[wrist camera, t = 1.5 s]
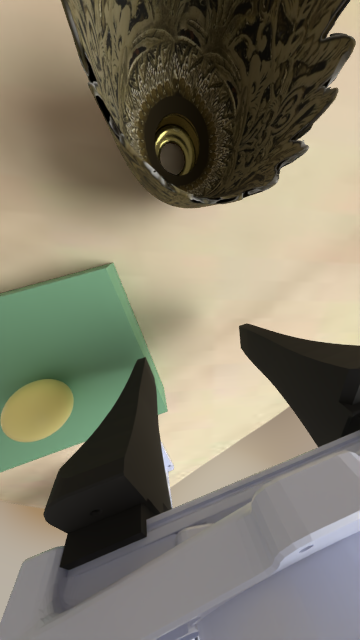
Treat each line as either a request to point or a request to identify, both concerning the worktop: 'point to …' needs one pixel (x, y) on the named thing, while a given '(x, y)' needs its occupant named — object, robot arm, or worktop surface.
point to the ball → (37, 410)
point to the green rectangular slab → (69, 352)
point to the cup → (210, 86)
